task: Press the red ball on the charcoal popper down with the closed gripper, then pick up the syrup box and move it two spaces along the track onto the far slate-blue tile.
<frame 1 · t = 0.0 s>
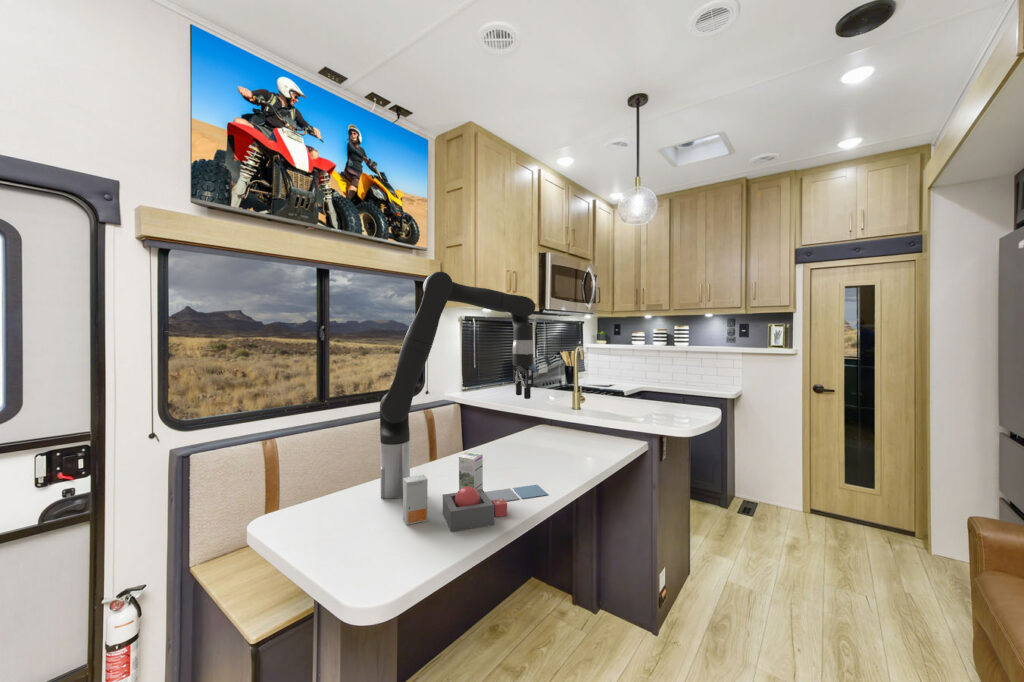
hand: (523, 396, 148), 29 cm above the countertop, tool pointing down, fingers open, 8 cm apart
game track: (501, 496, 131), on the countertop
syrup box: (471, 501, 127), resting on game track
red ball: (467, 499, 114), point 5 cm above the countertop, slide at 0.0 cm
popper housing: (467, 518, 115), on the countertop
skincare box: (415, 521, 114), on the countertop
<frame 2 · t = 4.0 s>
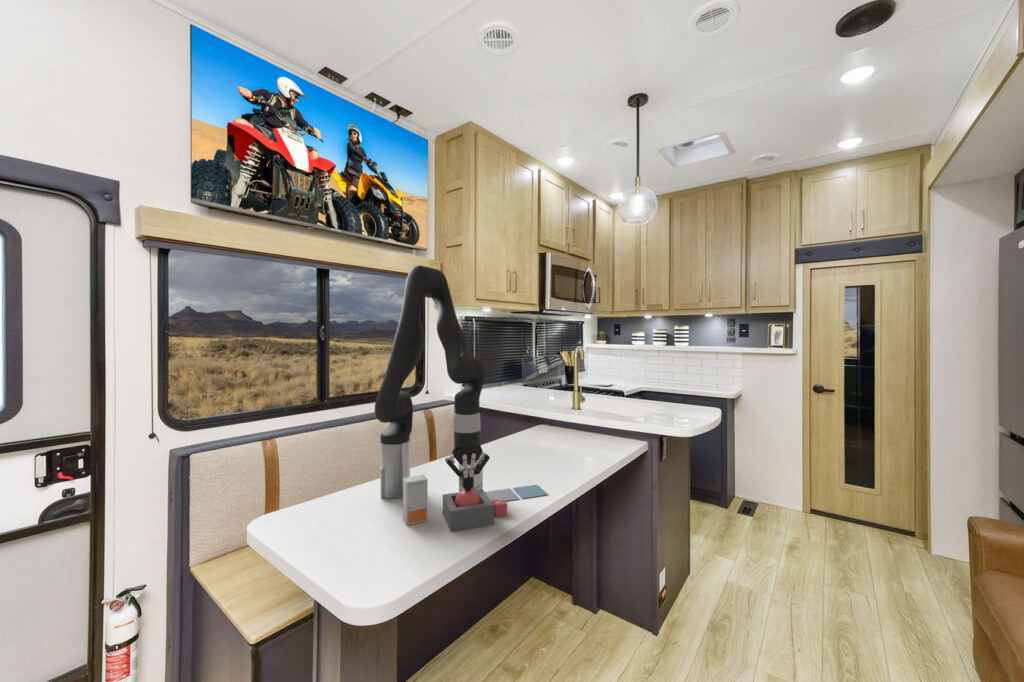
hand: (467, 489, 114), 8 cm above the countertop, tool pointing down, fingers closed
red ball: (467, 501, 114), point 5 cm above the countertop, slide at 0.7 cm, touching gripper
everything else where it was.
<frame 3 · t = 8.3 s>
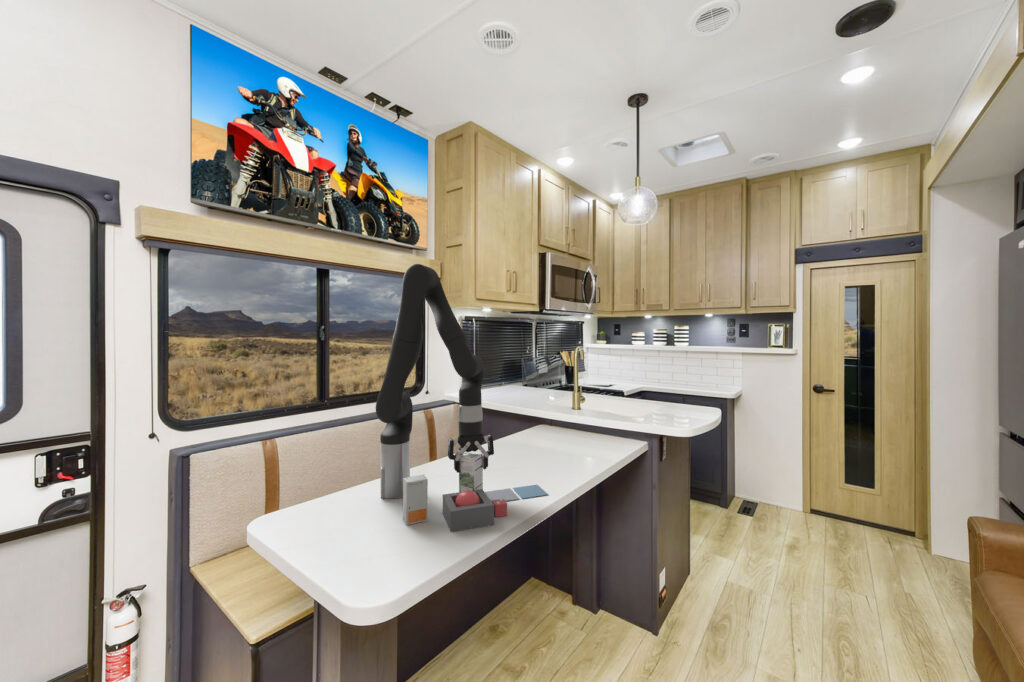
hand: (471, 470, 127), 10 cm above the countertop, tool pointing down, fingers open, 8 cm apart
red ball: (467, 503, 114), point 4 cm above the countertop, slide at 1.1 cm
everything else where it was.
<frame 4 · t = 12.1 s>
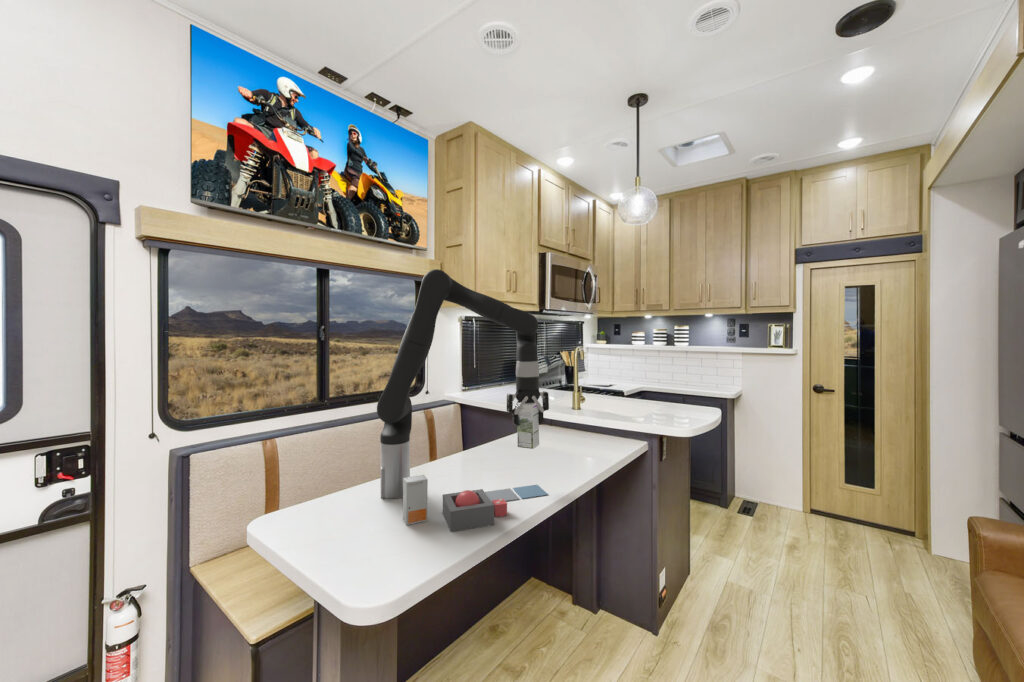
hand: (528, 424, 133), 23 cm above the countertop, tool pointing down, fingers closed on syrup box, 8 cm apart
syrup box: (528, 446, 133), point 15 cm above the countertop, touching gripper
everything else where it was.
when the fingers open (9 cm above the countertop, at t = 15.5 s): syrup box drops 1 cm, resting on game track.
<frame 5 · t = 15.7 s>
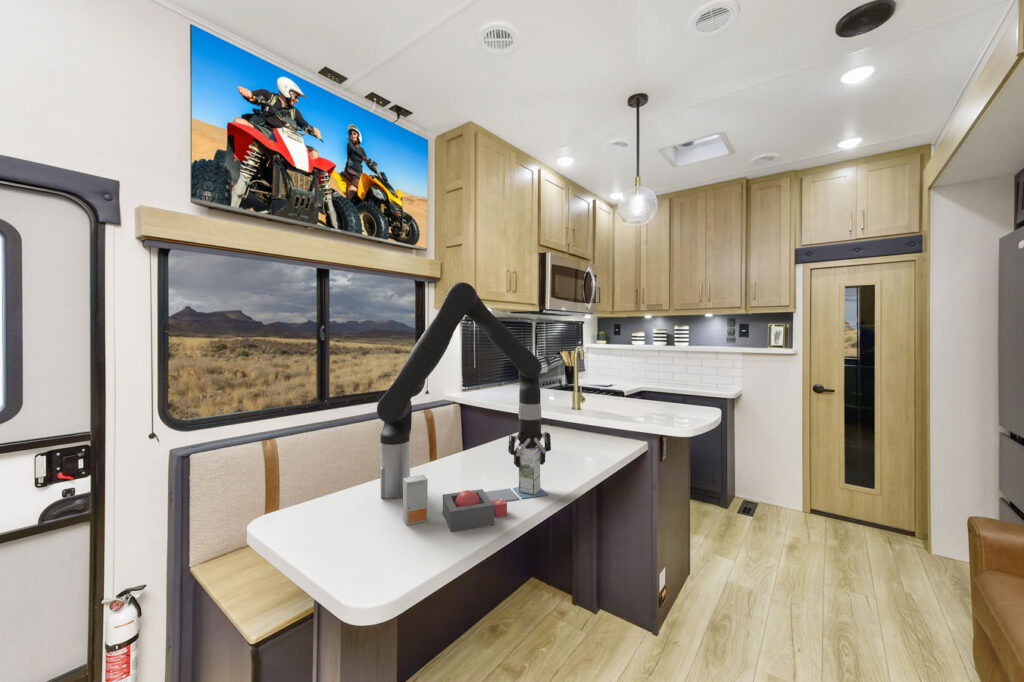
hand: (529, 465, 134), 9 cm above the countertop, tool pointing down, fingers open, 8 cm apart
syrup box: (529, 491, 134), resting on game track, touching gripper
everything else where it was.
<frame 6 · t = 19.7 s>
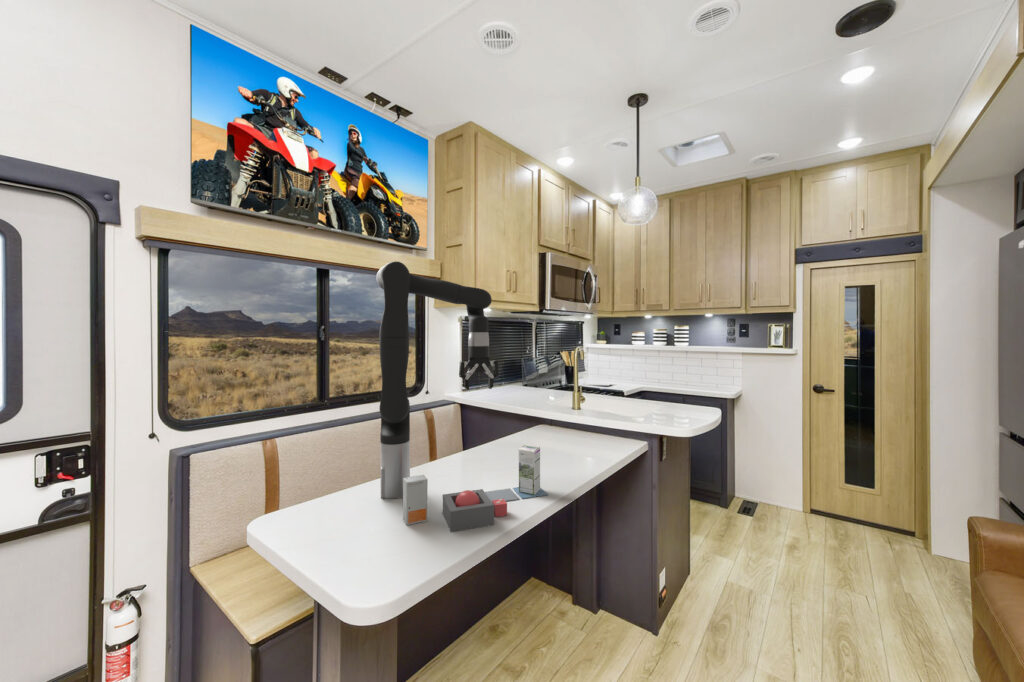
hand: (478, 389, 148), 32 cm above the countertop, tool pointing down, fingers open, 8 cm apart
syrup box: (529, 491, 134), resting on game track
everything else where it was.
at the end: red ball slide at 1.1 cm; syrup box inside the target area on the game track (0.2 cm from its centre), point 0.1 cm above the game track's base; syrup box tilted 0° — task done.
